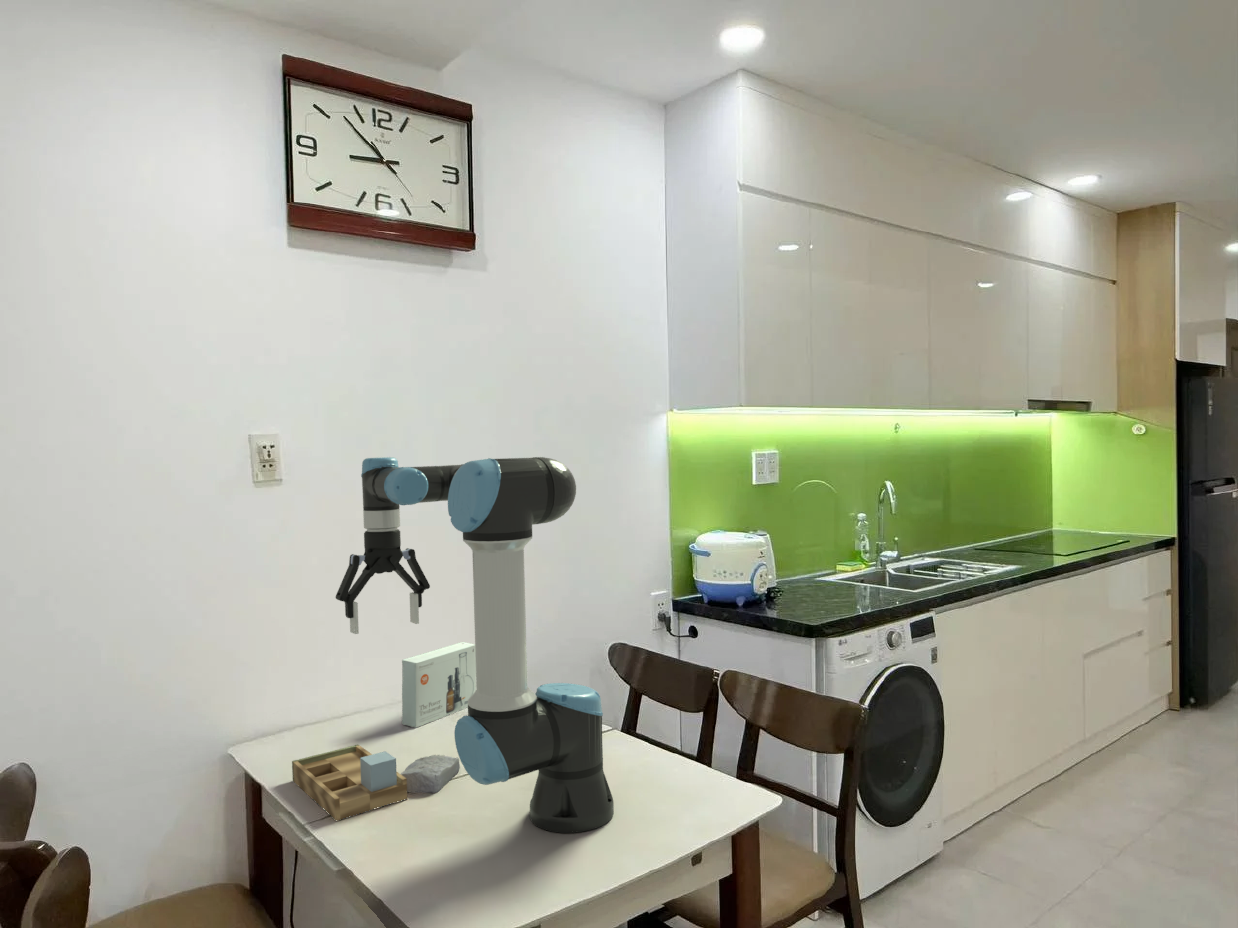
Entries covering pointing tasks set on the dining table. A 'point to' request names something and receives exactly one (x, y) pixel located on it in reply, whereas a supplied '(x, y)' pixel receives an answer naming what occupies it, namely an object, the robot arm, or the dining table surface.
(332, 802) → the trap box
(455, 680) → the skincare box
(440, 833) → the dining table surface
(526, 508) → the robot arm
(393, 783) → the block
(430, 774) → the stone block
